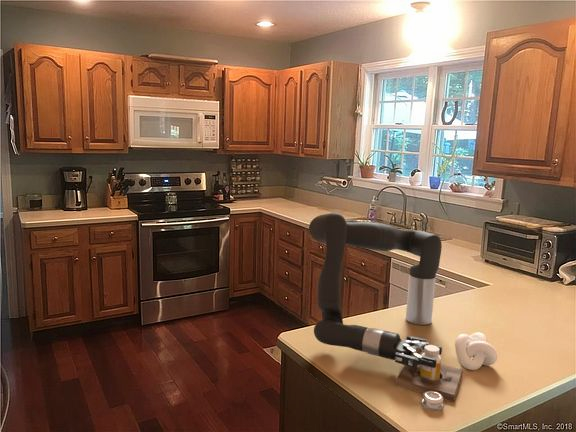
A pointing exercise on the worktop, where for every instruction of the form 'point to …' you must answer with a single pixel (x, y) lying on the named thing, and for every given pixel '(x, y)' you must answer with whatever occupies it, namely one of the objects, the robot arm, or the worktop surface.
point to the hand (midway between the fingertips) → (439, 357)
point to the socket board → (431, 381)
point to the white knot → (474, 351)
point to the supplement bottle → (431, 372)
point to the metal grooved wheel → (432, 401)
